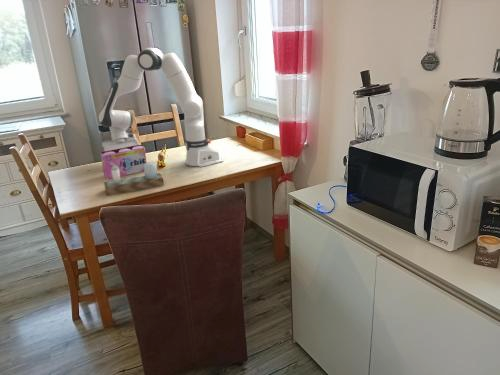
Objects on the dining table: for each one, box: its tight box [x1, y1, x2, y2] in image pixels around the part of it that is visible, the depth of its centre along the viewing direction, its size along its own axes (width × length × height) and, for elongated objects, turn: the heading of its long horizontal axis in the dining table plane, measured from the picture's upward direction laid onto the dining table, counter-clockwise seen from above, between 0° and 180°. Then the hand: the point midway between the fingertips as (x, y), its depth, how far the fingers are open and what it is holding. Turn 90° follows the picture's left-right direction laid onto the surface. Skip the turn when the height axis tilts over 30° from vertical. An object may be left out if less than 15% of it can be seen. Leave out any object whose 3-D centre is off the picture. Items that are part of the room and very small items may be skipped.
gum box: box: [99, 144, 148, 180], centre depth 220 cm, size 24×8×14 cm, turn 124°
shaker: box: [111, 166, 122, 184], centre depth 195 cm, size 4×4×9 cm
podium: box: [104, 173, 165, 196], centre depth 201 cm, size 28×8×4 cm, turn 114°
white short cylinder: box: [143, 161, 158, 179], centre depth 202 cm, size 6×6×7 cm
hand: (124, 159), depth 227 cm, fingers closed
